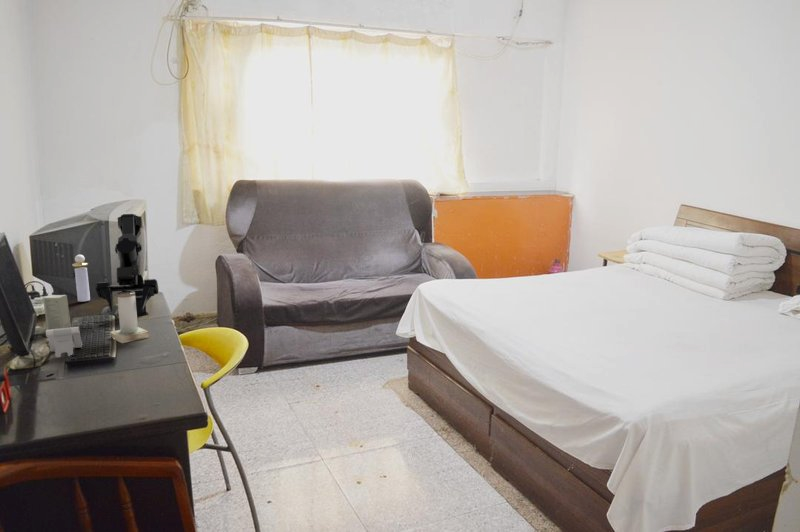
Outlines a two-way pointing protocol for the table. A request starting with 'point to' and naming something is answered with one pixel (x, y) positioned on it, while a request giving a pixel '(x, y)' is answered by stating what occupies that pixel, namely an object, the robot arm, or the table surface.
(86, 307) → the table surface
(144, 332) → the square tray
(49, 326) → the skincare box
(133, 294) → the tumbler
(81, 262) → the perfume bottle
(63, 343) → the portable electronic device stand
